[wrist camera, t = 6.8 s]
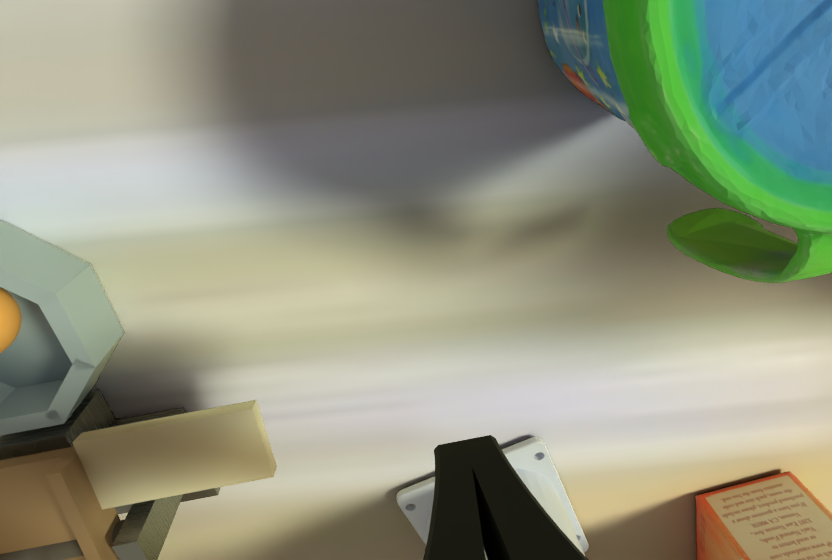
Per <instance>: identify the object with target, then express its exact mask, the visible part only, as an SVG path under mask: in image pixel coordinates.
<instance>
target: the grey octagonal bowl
mask: <svg viewBox="0 0 832 560" xmlns="http://www.w3.org/2000/svg"><path fill="white" fill-rule="evenodd" d="M0 287H2V288H3V289H5V290H6V291H7V292H9V293H10V294H11V295H12V296H13V298H14V299H15V300H16V302H17V304H18V306H19V308H20V311H21V318H22V321H21V327H20V330H19V333H18V335H17V337H16V339H15V340H14V341H13V343H12V344H11V345H10V346H9V347H8V348H7V349H6V350H4V351H3V352H2V353H0V436H1V435H7V434H12V433H17V432H23V431H28V430H33V429H39V428H44V427H49V426H55V425H60V424H64V423H65V422H66V421H67V419H68V418H69V417H70V416H71V414H72V413H73V412H74V410H75V409H76V408H77V407H78V405H79V404H80V403H81V402H82V400H83V399H84V398H85V396H86V395H87V394H88V393H89V391H90V390H91V389H92V387H93V386H94V385H95V383H96V381H97V379H98V377H99V376H100V374H101V372H102V370H103V369H104V367H105V365H106V363H107V362H108V360H109V358H110V356H111V355H112V353H113V351H114V349H115V348H116V346H117V344H118V342H119V341H120V339H121V337H122V335H123V334H124V331H123V329H122V327H121V325H120V323H119V321H118V319H117V317H116V314H115V312H114V310H113V308H112V306H111V304H110V302H109V300H108V298H107V296H106V294H105V292H104V290H103V288H102V286H101V284H100V282H99V280H98V278H97V276H96V274H95V272H94V270H93V268H92V266H91V264H89V263H87V262H85V261H83V260H81V259H79V258H77V257H75V256H73V255H71V254H69V253H67V252H65V251H63V250H61V249H59V248H57V247H55V246H53V245H51V244H49V243H47V242H45V241H43V240H41V239H39V238H37V237H35V236H33V235H31V234H29V233H27V232H25V231H23V230H21V229H19V228H17V227H15V226H13V225H11V224H9V223H7V222H5V221H4V220H2V221H0Z"/></svg>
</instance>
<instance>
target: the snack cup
mask: <svg viewBox="0 0 832 560" xmlns="http://www.w3.org/2000/svg"><path fill="white" fill-rule="evenodd" d="M538 6H539V15H540V22H541V26H542V28H543V32H544V38H545V42H546V45H547V47H548V50H549V51H550V53H551V57H552V59H553V60H554V62H555V63H556V64H557V66H558V67H559V68H560V70H561V71H562V72H563V73H564V75H565V76H566V77H567V78H568V80H570V81H571V82H572V83H573V85H574V86H575V87H576V88H577V89H578V90H580V91H581V92H582V93H583V94H584V95H586V96H587V97H588V98H590V99H591V100H593V101H594V102H596V103H597V104H599V105H600V106H602V107H603V108H605V109H606V110H608V111H609V112H611V113H612V114H613V115H615V116H616V117H618V118H619V119H621V120H624V121H626V122H627V123H628V124H629V125H631V126H632V127H633V128H634V129H635V130H637V132H638V134H639V135H640V137H641V139H642V140H643V142H644V144H645V146H646V147H647V149H648V150H649V151H650V153H651V154H652V155H653V157H654V158H655V159H656V160H657V161H658V162H659V163H660V164H662V165H663V166H666V167H670V168H671V169H672V170H674V171H675V172H677V173H678V174H680V175H681V176H682V177H684V178H685V179H686V180H687V181H688V182H690V183H691V184H693V185H695V186H696V187H698V188H700V189H701V190H703V191H704V192H706V193H708V194H710V195H711V196H713V197H715V198H716V199H718V200H720V201H721V202H723V203H725V204H727V205H729V206H732V207H734V208H736V209H738V210H740V211H743V212H745V213H748V214H750V215H753V216H756V217H758V218H761V219H764V220H766V221H769V222H772V223H775V224H779V225H783V226H787V227H792V228H793V229H794V230H795V232H796V234H797V236H798V244H797V243H795V242H792V241H790V240H788V239H785V238H783V237H781V236H779V235H776V234H774V233H772V232H769V231H767V230H765V229H764V228H763V226H762V225H760V224H759V223H758V222H757V221H755V220H753V219H751V218H750V217H748V216H746V215H744V214H741V213H738V212H735V211H731V210H726V209H721V208H711V209H705V210H700V211H697V212H693V213H690V214H687V215H684V216H682V217H680V218H678V219H676V220H674V221H673V222H672V223H671V224H669V226H668V228H667V235H668V238H669V240H670V241H671V242H672V243H673V245H674V246H675V247H676V248H677V249H679V250H680V251H681V252H683V253H684V254H685V255H687V256H689V257H691V258H694V259H695V260H697V261H699V262H701V263H704V264H705V265H707V266H709V267H712V268H715V269H717V270H719V271H722V272H724V273H728V274H731V275H734V276H736V277H739V278H744V279H748V280H752V281H758V282H766V283H783V282H787V281H793V280H800V279H807V278H812V277H815V276H820V275H825V274H828V273H832V0H538Z"/></svg>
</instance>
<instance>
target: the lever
mask: <svg viewBox="0 0 832 560" xmlns="http://www.w3.org/2000/svg"><path fill="white" fill-rule="evenodd" d="M72 443H73V445H74V447H68V448H63V449H58V450H52V451H47V452H42V453H36V454H31V455H26V456H21V457H15V458H10V459H5V460H0V560H120V559H119V557H118V556H117V554H116V553H115V551H114V550H113V548H112V545H113V543H114V541H115V539H116V537H117V535H118V533H119V531H120V529H121V527H122V525H123V523H124V521H125V520H121V521H120V519H119V516H118V514H117V512H116V509H115V507H118V506H123V505H129V504H134V503H139V502H144V501H150V500H155V499H160V498H165V497H171V496H176V495H181V494H186V493H191V492H197V491H202V490H207V489H212V488H218V487H223V486H228V485H233V484H238V483H244V482H249V481H254V480H259V479H265V478H270V477H274V473H275V470H276V467H277V466H276V463H275V460H274V456H273V453H272V450H271V447H270V443H269V440H268V437H267V433H266V430H265V427H264V424H263V420H262V417H261V414H260V410H259V407H258V404H257V401H256V400H253V401H248V402H243V403H237V404H232V405H227V406H221V407H216V408H211V409H205V410H200V411H195V412H189V413H184V414H179V415H173V416H168V417H163V418H157V419H152V420H147V421H141V422H136V423H131V424H125V425H120V426H115V427H109V428H104V429H99V430H93V431H88V432H83V433H81V434H80V435H79V436H78V437H77V438H76V439H75V440H74V441H73V442H72Z"/></svg>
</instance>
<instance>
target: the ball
mask: <svg viewBox="0 0 832 560" xmlns="http://www.w3.org/2000/svg"><path fill="white" fill-rule="evenodd" d="M21 321H22V318H21V311H20V308H19V306H18V304H17V302H16V300H15V299H14V298H13V296H12V295H11V294H10V293H9V292H7V291H6V290H5V289H3V288H2V287H0V353H2V352H3V351H4V350H6V349H7V348H8V347H9V346H10V345H11V344H12V343H13V341H14V340H15V339H16V337H17V335H18V333H19V330H20V327H21Z"/></svg>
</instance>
